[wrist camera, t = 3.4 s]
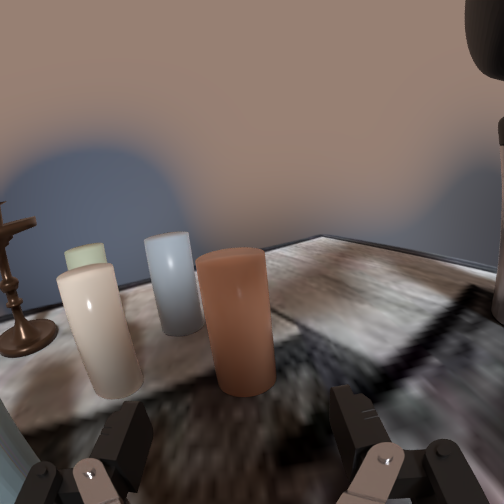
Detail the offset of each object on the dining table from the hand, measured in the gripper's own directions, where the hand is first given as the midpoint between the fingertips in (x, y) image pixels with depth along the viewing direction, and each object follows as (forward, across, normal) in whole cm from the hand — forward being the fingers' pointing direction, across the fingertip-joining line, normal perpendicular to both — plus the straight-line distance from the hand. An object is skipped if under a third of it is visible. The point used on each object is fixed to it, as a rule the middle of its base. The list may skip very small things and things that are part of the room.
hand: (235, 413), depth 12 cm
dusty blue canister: (+21, +7, +6) cm, 23 cm away
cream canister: (+10, +11, +6) cm, 16 cm away
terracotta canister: (+10, 0, +6) cm, 12 cm away
